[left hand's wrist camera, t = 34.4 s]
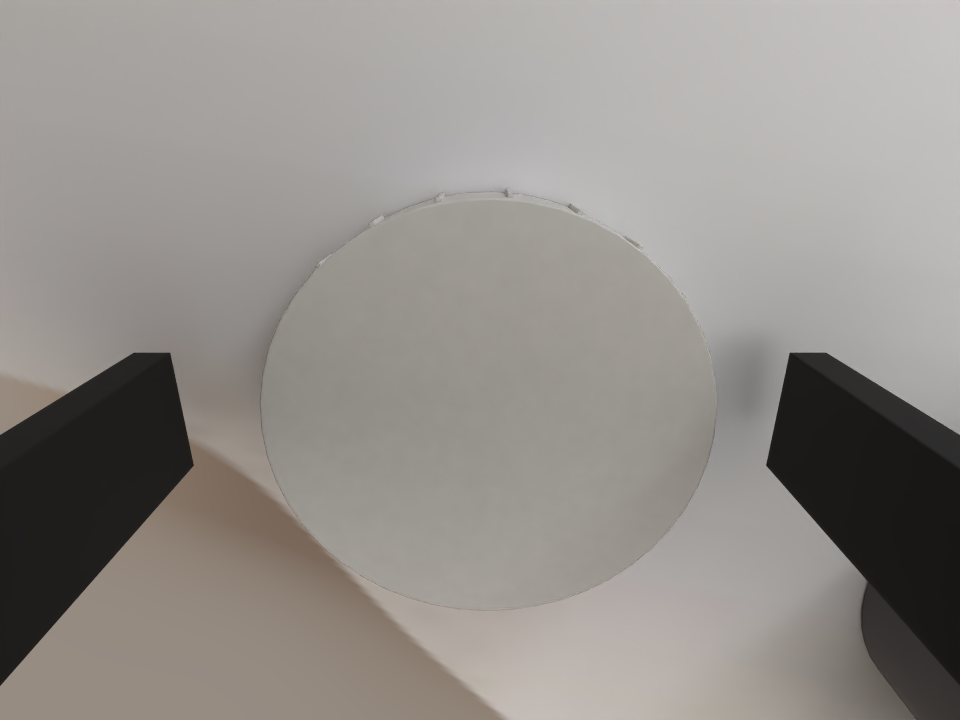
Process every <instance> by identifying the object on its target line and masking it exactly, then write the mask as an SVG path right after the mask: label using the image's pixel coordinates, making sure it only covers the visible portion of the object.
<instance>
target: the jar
mask: <svg viewBox="0 0 960 720" xmlns="http://www.w3.org/2000/svg"><path fill="white" fill-rule="evenodd" d="M862 629H863V635H864V641H865V644H866V647H867V650H868V652H869V655H870V657H871V659H872V660H873V662H874V663H875V665H876V667H877V668H878V670H879V671H880V672H881V674H882V675H883V676H884V678H885V679H886V680H887V682H888V683H889V684H890V685H891V687H892V688H893V689H894V691H895V692H896V693H897V695H898V696H899V697H900V699H901V700H902V701H903V703H904V704H905V705H906V706H907V708H908V709H909V710H910V712H911V713H912V714H913V716H914V717H915V718H916V720H960V685H959V684H958V683H957V682H956V681H955V680H954V679H953V677H952V676H951V675H950V674H949V673H948V672H947V671H946V670H945V668H944V667H943V666H942V665H941V664H940V663H939V662H938V660H937V659H936V658H935V657H934V656H933V655H932V654H931V652H930V651H929V650H928V649H927V648H926V647H925V646H924V644H923V643H922V642H921V641H920V640H919V639H918V638H917V637H916V635H915V634H914V633H913V632H912V631H911V630H910V629H909V627H908V626H907V625H906V624H905V623H904V622H903V621H902V619H901V618H900V617H899V616H898V615H897V614H896V613H895V611H894V610H893V609H892V608H891V607H890V606H889V605H888V604H887V602H886V601H885V600H884V599H883V598H882V597H881V596H880V594H879V593H878V592H877V591H876V590H875V589H874V588H873V586H872V585H871V584H870V583H869V585H868V588H867V591H866V594H865V598H864V604H863V610H862Z"/></svg>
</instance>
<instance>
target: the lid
mask: <svg viewBox="0 0 960 720" xmlns="http://www.w3.org/2000/svg"><path fill="white" fill-rule="evenodd" d="M583 212H584V211H583V210H581V209H580V208H578V207H576V206H575V205H572V204H570V206H569V207H566V206H563V205H561V204H558V203H555V202H553V201H550V200H545V199H541V198H536V197H532V196H527V195H523V194H514V193H513V192H512V190H511V189H506V193H501V192H477V193H461V194H456V195H450V196H445V193H440V194H439V195H438V196H437V197H436V198H435V199H431V200H428V201H425V202H422V203H419V204H416V205H413V206H410V207H407V208H404V209H402V210H400V211H398V212H396V213H394V214H392V215H390V216H388V217H386V218H384V216H383V215H381V216H379V217H378V218H376V219H375V220H373V221H372V222H370V223H369V225H370V228H368V229H367V230H365V231H364V232H362V233H361V234H359V235H358V236H356V237H355V238H354V239H352V240H351V241H349V242H348V243H346V244H345V245H343V246H342V247H340V248H339V249H338V250H336V251H335V252H334V253H332V254H330V255H329V256H327V257H326V258H325V259H323V260H322V261H320V262H319V263H318V264H317V265H316V267H317V269H316V270H315V271H314V272H313V273H312V274H311V276H310V277H309V278H308V279H307V281H306V282H305V283H304V284H303V285H302V287H301V288H300V289H299V290H298V292H297V293H296V294H295V296H294V297H293V299H292V301H291V302H290V304H289V306H288V307H287V309H286V311H285V313H284V314H283V315H282V316H281V318H280V321H279V324H278V326H277V329H276V331H275V334H274V336H273V339H272V341H271V344H270V346H269V349H268V353H267V358H266V362H265V366H264V370H263V374H262V385H261V397H260V409H261V426H262V433H263V438H264V443H265V448H266V453H267V457H268V460H269V462H270V465H271V468H272V471H273V474H274V476H275V479H276V481H277V483H278V485H279V487H280V489H281V491H282V493H283V495H284V497H285V499H286V501H287V503H288V504H289V506H290V507H291V509H292V510H293V512H294V513H295V514H296V516H297V517H298V519H299V520H300V522H301V523H302V525H303V526H304V527H305V528H306V529H307V530H308V531H309V532H310V533H311V535H312V536H313V537H314V538H315V539H316V540H317V541H318V542H319V544H321V545H322V546H323V547H324V548H325V549H326V550H327V551H329V552H330V553H331V554H332V555H333V556H334V557H335V558H337V559H338V560H339V561H340V562H342V563H343V564H344V565H346V566H347V567H349V568H350V569H352V570H353V571H355V572H356V573H358V574H359V575H360V576H362V577H364V578H366V579H368V580H370V581H372V582H374V583H375V584H377V585H379V586H381V587H383V588H385V589H388V590H390V591H393V592H395V593H398V594H400V595H403V596H405V597H408V598H411V599H415V600H418V601H422V602H425V603H429V604H433V605H438V606H444V607H450V608H456V609H467V610H482V611H487V610H511V609H518V608H526V607H533V606H538V605H542V604H546V603H550V602H554V601H558V600H562V599H565V598H567V597H570V596H573V595H576V594H578V593H581V592H584V591H586V590H588V589H590V588H592V587H594V586H597V585H599V584H601V583H603V582H605V581H607V580H609V579H610V578H612V577H613V576H615V575H617V574H618V573H620V572H621V571H623V570H624V569H626V568H628V567H629V566H631V565H632V564H633V563H634V562H636V561H637V560H638V559H639V558H641V557H642V556H643V555H644V554H645V553H647V552H648V551H649V550H650V549H651V548H652V547H653V546H654V545H655V544H656V543H657V542H658V541H659V540H660V539H661V538H662V537H663V536H664V535H665V534H666V533H667V532H668V531H669V530H670V528H671V527H672V526H673V524H674V523H675V522H676V520H677V519H678V518H679V516H680V515H681V514H682V512H683V511H684V510H685V508H686V506H687V505H688V503H689V501H690V499H691V498H692V496H693V494H694V492H695V491H696V489H697V487H698V485H699V482H700V480H701V477H702V475H703V472H704V470H705V467H706V465H707V462H708V459H709V455H710V451H711V447H712V443H713V439H714V432H715V422H716V412H717V402H716V381H715V376H714V371H713V366H712V360H711V355H710V352H709V349H708V346H707V344H706V341H705V338H704V335H703V332H702V330H701V327H700V325H699V323H698V321H697V319H696V317H695V316H694V314H693V312H692V310H691V308H690V306H689V304H688V303H687V301H686V299H685V298H686V297H685V296H684V294H683V293H681V292H680V291H679V290H678V289H677V287H676V286H675V285H674V283H673V282H672V281H671V279H670V278H669V277H668V276H667V275H666V274H665V273H664V272H663V271H662V270H661V269H660V268H659V267H658V266H657V265H656V264H655V263H654V262H653V261H652V260H651V259H650V258H649V257H648V256H647V255H646V254H645V253H644V252H642V251H641V250H642V248H643V247H642V246H641V245H639V244H638V243H636V242H634V241H633V240H631V239H630V238H628V237H626V236H625V237H624V238H623V237H622V236H621V235H619V234H617V233H616V232H614V231H613V230H611V229H609V228H608V227H606V226H605V225H603V224H601V223H599V222H597V221H596V220H594V219H592V218H590V217H588V216H586V215H585V214H583Z"/></svg>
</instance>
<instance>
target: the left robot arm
mask: <svg viewBox="0 0 960 720" xmlns="http://www.w3.org/2000/svg"><path fill="white" fill-rule="evenodd" d="M193 466H194V464H193V460H192V455H191V450H190V445H189V441H188V436H187V431H186V426H185V421H184V417H183V412H182V407H181V402H180V398H179V393H178V388H177V383H176V379H175V374H174V369H173V364H172V360H171V355H170V353H133V354H131V355H129V356H128V357H126V358H125V359H123V360H121V361H120V362H118V363H116V364H115V365H113V366H112V367H110V368H108V369H107V370H105V371H104V372H102V373H100V374H99V375H97V376H95V377H94V378H92V379H91V380H89V381H87V382H86V383H84V384H82V385H81V386H79V387H78V388H76V389H74V390H73V391H71V392H69V393H68V394H66V395H65V396H63V397H61V398H60V399H58V400H56V401H55V402H53V403H52V404H50V405H48V406H47V407H45V408H43V409H42V410H40V411H39V412H37V413H35V414H34V415H32V416H30V417H29V418H27V419H26V420H24V421H22V422H21V423H19V424H17V425H16V426H14V427H13V428H11V429H9V430H8V431H6V432H5V433H3V434H1V435H0V685H1V684H2V683H3V682H4V681H5V680H6V679H7V677H8V676H9V675H10V674H11V673H12V672H13V671H14V669H15V668H16V667H17V666H18V665H19V664H20V663H21V662H22V660H23V659H24V658H25V657H26V656H27V655H28V654H29V652H30V651H31V650H32V649H33V648H34V647H35V646H36V644H37V643H38V642H39V641H40V640H41V639H42V638H43V637H44V635H45V634H46V633H47V632H48V631H49V630H50V629H51V627H52V626H53V625H54V624H55V623H56V622H57V621H58V619H59V618H60V617H61V616H62V615H63V614H64V613H65V611H66V610H67V609H68V608H69V607H70V606H71V605H72V603H73V602H74V601H75V600H76V599H77V598H78V597H79V595H80V594H81V593H82V592H83V591H84V590H85V589H86V588H87V586H88V585H89V584H90V583H91V582H92V581H93V580H94V578H95V577H96V576H97V575H98V574H99V573H100V572H101V570H102V569H103V568H104V567H105V566H106V565H107V564H108V563H109V561H110V560H111V559H112V558H113V557H114V556H115V555H116V553H117V552H118V551H119V550H120V549H121V548H122V547H123V545H124V544H125V543H126V542H127V541H128V540H129V539H130V537H131V536H132V535H133V534H134V533H135V532H136V531H137V530H138V528H139V527H140V526H141V525H142V524H143V523H144V522H145V520H146V519H147V518H148V517H149V516H150V515H151V514H152V512H153V511H154V510H155V509H156V508H157V507H158V506H159V504H160V503H161V502H162V501H163V500H164V499H165V498H166V496H167V495H168V494H169V493H170V492H171V491H172V490H173V489H174V487H175V486H176V485H177V484H178V483H179V482H180V481H181V479H182V478H183V477H184V476H185V475H186V474H187V473H188V471H189V470H190V469H191V468H192V467H193ZM766 466H767V467H768V468H769V469H770V470H771V471H772V473H773V474H774V475H775V476H776V477H777V478H778V479H779V481H780V482H781V483H782V484H783V485H784V486H785V487H786V489H787V490H788V491H789V492H790V493H791V494H792V495H793V497H794V498H795V499H796V500H797V501H798V502H799V503H800V504H801V506H802V507H803V508H804V509H805V510H806V511H807V512H808V514H809V515H810V516H811V517H812V518H813V519H814V520H815V522H816V523H817V524H818V525H819V526H820V527H821V528H822V530H823V531H824V532H825V533H826V534H827V535H828V536H829V537H830V539H831V540H832V541H833V542H834V543H835V544H836V545H837V547H838V548H839V549H840V550H841V551H842V552H843V553H844V555H845V556H846V557H847V558H848V559H849V560H850V561H851V563H852V564H853V565H854V566H855V567H856V568H857V569H858V570H859V572H860V573H861V574H862V575H863V576H864V577H865V578H866V580H867V581H868V582H869V583H870V584H871V585H872V586H873V588H874V589H875V590H876V591H877V592H878V593H879V594H880V596H881V597H882V598H883V599H884V600H885V601H886V602H887V604H888V605H889V606H890V607H891V608H892V609H893V610H894V611H895V613H896V614H897V615H898V616H899V617H900V618H901V619H902V621H903V622H904V623H905V624H906V625H907V626H908V627H909V629H910V630H911V631H912V632H913V633H914V634H915V635H916V637H917V638H918V639H919V640H920V641H921V642H922V643H923V644H924V646H925V647H926V648H927V649H928V650H929V651H930V652H931V654H932V655H933V656H934V657H935V658H936V659H937V660H938V662H939V663H940V664H941V665H942V666H943V667H944V668H945V670H946V671H947V672H948V673H949V674H950V675H951V676H952V677H953V679H954V680H955V681H956V682H957V683H958V684H959V685H960V435H959V434H957V433H956V432H954V431H952V430H951V429H949V428H947V427H946V426H944V425H943V424H941V423H939V422H938V421H936V420H934V419H933V418H931V417H930V416H928V415H926V414H925V413H923V412H921V411H920V410H918V409H917V408H915V407H913V406H912V405H910V404H908V403H907V402H905V401H904V400H902V399H900V398H899V397H897V396H895V395H894V394H892V393H891V392H889V391H887V390H886V389H884V388H882V387H881V386H879V385H878V384H876V383H874V382H873V381H871V380H869V379H868V378H866V377H865V376H863V375H861V374H860V373H858V372H856V371H855V370H853V369H852V368H850V367H848V366H847V365H845V364H843V363H842V362H840V361H839V360H837V359H835V358H834V357H832V356H831V355H829V354H827V353H790V355H789V359H788V364H787V369H786V374H785V379H784V383H783V388H782V393H781V398H780V402H779V407H778V412H777V417H776V421H775V426H774V431H773V436H772V441H771V445H770V450H769V455H768V460H767V464H766Z"/></svg>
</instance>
